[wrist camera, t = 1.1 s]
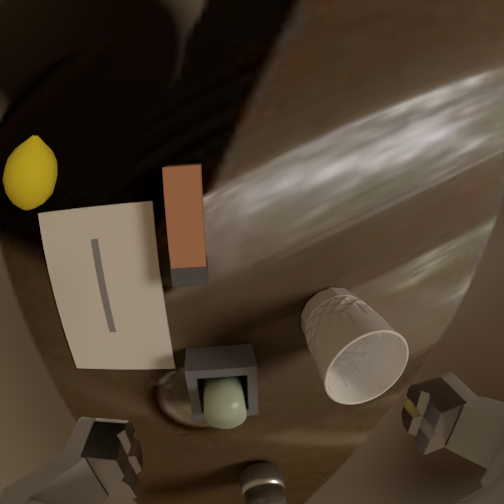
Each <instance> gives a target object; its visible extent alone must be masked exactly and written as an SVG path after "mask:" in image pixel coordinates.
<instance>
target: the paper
mask: <svg viewBox="0 0 504 504" xmlns="http://www.w3.org/2000/svg"><path fill="white" fill-rule="evenodd" d="M38 217H39V224H40V230H41V236H42V242H43V247H44V252H45V257H46V262H47V267H48V271H49V276H50V280H51V284H52V288H53V292H54V296H55V300H56V304H57V307H58V311H59V315H60V318H61V321H62V325H63V328H64V331H65V334H66V338H67V341H68V344H69V347H70V350H71V353H72V355H73V358H74V361H75V364H76V367H77V368H89V369H175V362H174V356H173V351H172V345H171V340H170V334H169V328H168V322H167V316H166V309H165V303H164V296H163V289H162V281H161V274H160V266H159V258H158V249H157V240H156V231H155V220H154V209H153V201H145V202H133V203H123V204H112V205H103V206H93V207H84V208H76V209H67V210H59V211H51V212H44V213H38Z"/></svg>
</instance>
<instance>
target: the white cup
mask: <svg viewBox="0 0 504 504" xmlns="http://www.w3.org/2000/svg"><path fill="white" fill-rule="evenodd" d="M301 328H302V330H303V333H304V335H305V337H306V341H307V345H308V347H309V350H310V352H311V355H312V358H313V361H314V363H315V366H316V368H317V371H318V373H319V375H320V378H321V380H322V383H323V385H324V388H325V390H326V393H327V394H328V396H329V397H330V398H331V399H332V400H334V401H336V402H338V403H341V404H359V403H363V402H367V401H369V400H372V399H374V398H376V397H378V396H379V395H381V394H382V393H384V392H385V391H386V390H388V389H389V388H390V387H391V386H392V385H393V384H394V383H395V382H396V381H397V380H398V378H399V377H400V375H401V374H402V372H403V370H404V368H405V366H406V363H407V360H408V345H407V343H406V341H405V339H404V338H403V337H402V336H401V335H400V334H399V333H398V332H397V331H396V330H395V329H394V328H393V327H391V326H390V325H389V324H388V323H387V322H386V321H385V320H384V319H383V318H382V317H381V316H380V315H379V314H377V313H376V312H375V311H374V310H373V309H371V308H370V307H369V306H368V305H367V304H366V303H364V302H363V301H362V300H360V299H359V298H358V297H357V296H356V295H354V294H353V293H351V292H350V291H348V290H346V289H345V288H333V287H331V288H328V289H325V290H323V291H320V292H318V293H316V294H315V295H314V296H313V297H312V298H311V299H310V300H309V301H308V302H307V303H306V305H305V307H304V310H303V312H302V314H301Z"/></svg>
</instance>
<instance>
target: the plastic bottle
mask: <svg viewBox="0 0 504 504" xmlns="http://www.w3.org/2000/svg"><path fill="white" fill-rule="evenodd" d="M239 485H240V488H241V491H242V493H243V495H244V498H245V502H246V504H286V499H285V492H284V476H283V474H282V472H281V470H280V468H279V467H278V466H276V465H275V464H273V463H270V462H257V463H253V464H250V465H248V466H247V467H245V468H244V469H243V470H242V472H241V473H240V476H239Z"/></svg>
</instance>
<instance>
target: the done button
mask: <svg viewBox="0 0 504 504" xmlns="http://www.w3.org/2000/svg"><path fill="white" fill-rule="evenodd" d="M246 416H247V413H246V407H245V401H244V395H243V389H242V383H241V378H240V376H229V377H216V378H204V418H205V420H206V422H207V423H208V424H209V425H211V426H213V427H216V428H220V429H229V428H234V427H236V426H239V425H240V424H242V423H243V422H244V421H245V419H246Z"/></svg>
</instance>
